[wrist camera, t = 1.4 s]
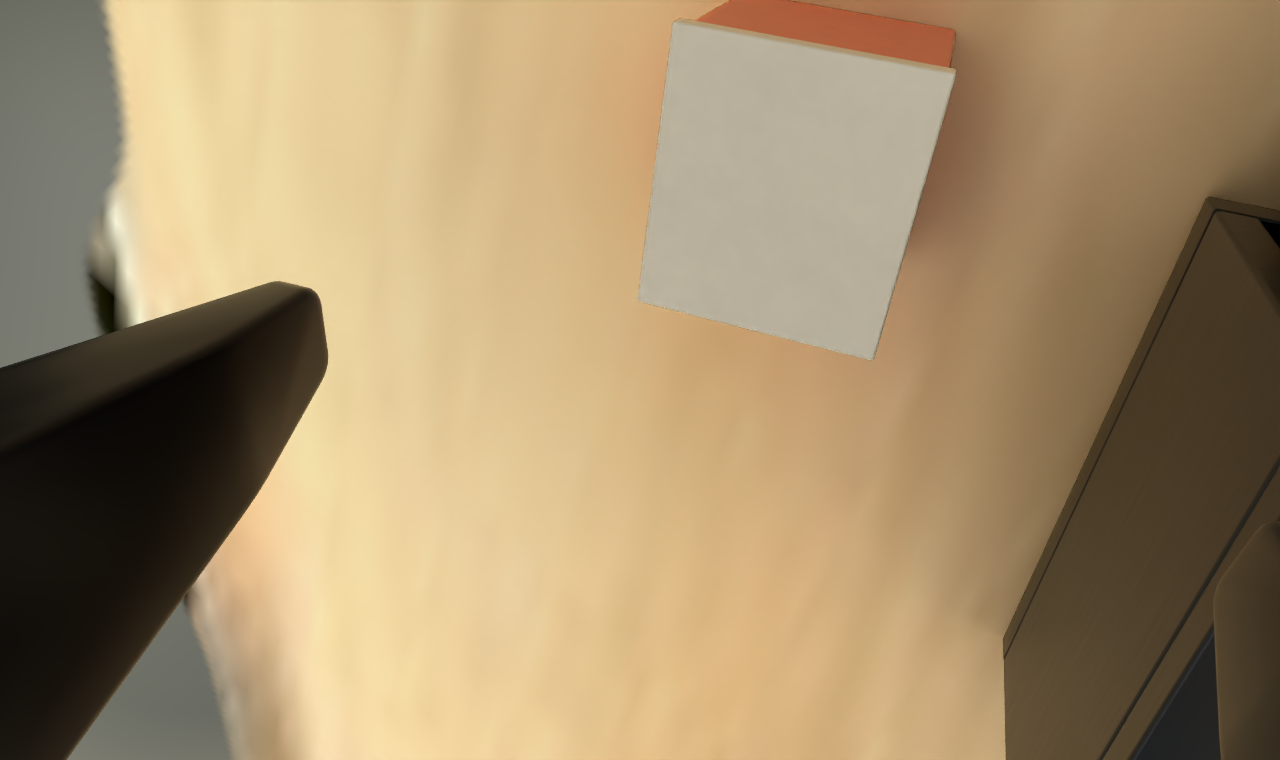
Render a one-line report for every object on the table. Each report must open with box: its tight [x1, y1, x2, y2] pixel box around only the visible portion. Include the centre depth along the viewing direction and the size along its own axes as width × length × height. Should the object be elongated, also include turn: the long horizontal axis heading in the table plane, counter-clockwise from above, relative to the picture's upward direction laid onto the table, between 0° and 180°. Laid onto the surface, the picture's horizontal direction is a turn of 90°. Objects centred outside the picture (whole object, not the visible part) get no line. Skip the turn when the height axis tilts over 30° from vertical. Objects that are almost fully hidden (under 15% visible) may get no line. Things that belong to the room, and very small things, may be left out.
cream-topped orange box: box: [638, 0, 956, 361], centre depth 18 cm, size 5×5×5 cm
